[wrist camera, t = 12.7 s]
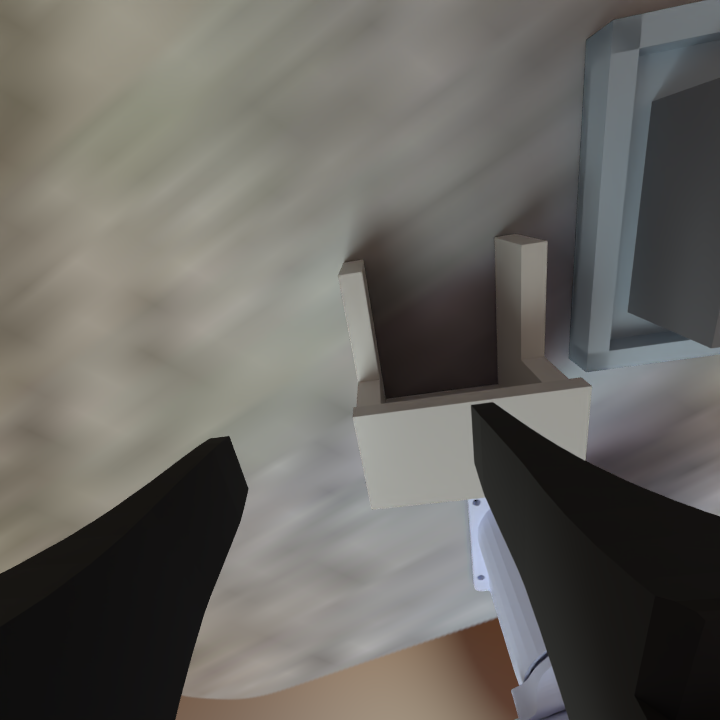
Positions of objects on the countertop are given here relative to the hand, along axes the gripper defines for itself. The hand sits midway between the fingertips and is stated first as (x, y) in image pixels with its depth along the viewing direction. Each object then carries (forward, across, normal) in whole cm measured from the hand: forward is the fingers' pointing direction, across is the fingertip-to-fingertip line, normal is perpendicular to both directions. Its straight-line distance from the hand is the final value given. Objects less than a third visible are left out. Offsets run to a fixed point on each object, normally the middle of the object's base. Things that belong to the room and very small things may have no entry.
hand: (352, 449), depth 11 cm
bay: (+10, -4, 0) cm, 11 cm away
